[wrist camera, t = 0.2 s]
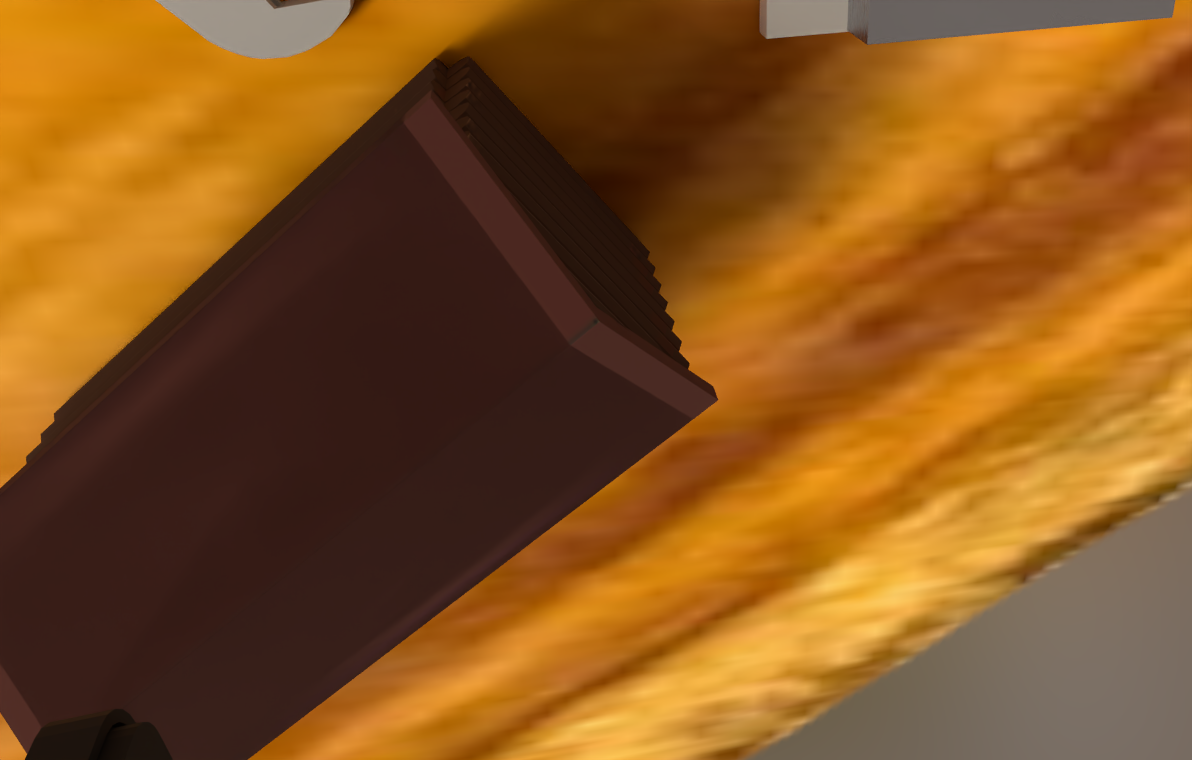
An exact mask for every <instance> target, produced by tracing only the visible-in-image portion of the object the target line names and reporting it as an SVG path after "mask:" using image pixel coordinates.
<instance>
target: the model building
mask: <svg viewBox="0 0 1192 760" xmlns="http://www.w3.org/2000/svg"><path fill="white" fill-rule="evenodd" d="M649 253H650V252H649V251H648V250H647V249H646V248H645V246H644V245H643V244H642V243H641V242H640V241H639V240H638V239H637V238H636V237H635V236H634V235H633V233H632V232H631V231H630V230H629V229H628V228H627V227H626V226H625V225H624V224H623V223H622V221H621V220H620V219H619V218H618V217H617V216H616V215H615V214H614V213H613V212H612V211H611V210H610V208H609V207H608V206H607V205H606V204H605V203H604V202H603V201H602V200H601V199H600V198H599V197H598V195H597V194H596V193H595V192H594V191H593V190H592V189H591V188H590V187H589V186H588V185H587V183H586V182H585V181H584V180H583V179H582V178H581V177H580V176H579V175H578V174H577V173H576V172H575V170H574V169H573V168H572V167H571V166H570V165H569V164H568V163H567V162H566V161H565V160H564V159H563V157H562V156H561V155H560V154H559V153H558V152H557V151H556V150H555V149H554V148H553V147H552V145H551V144H550V143H549V142H548V141H547V140H546V139H545V138H544V137H543V136H542V135H541V134H540V132H539V131H538V130H537V129H536V128H535V127H534V126H533V125H532V124H531V123H530V122H529V120H528V119H527V118H526V117H525V116H524V115H523V114H522V113H521V112H520V111H519V110H518V109H517V107H516V106H515V105H514V104H513V103H512V102H511V101H510V100H509V99H508V98H507V97H506V96H505V94H504V93H503V92H502V91H501V90H500V89H499V88H498V87H497V86H496V85H495V84H494V82H493V81H492V80H491V79H490V78H489V77H488V76H487V75H486V74H485V73H484V72H483V71H482V69H481V68H480V67H479V66H478V65H477V64H476V63H475V62H474V61H473V60H472V59H471V58H470V57H469V56H468V57H466V58H464V59H462V60H460V61H459V62H457V63H455V64H454V65H452V66H451V67H450V68H449V69H448V68H447V67H446V66H445V65H444V64H443V63H442V62H441V61H439V60H438V59H436V58H435V59H433V60H432V61H431V62H430V63H429V64H428V65H427V66H426V67H425V68H424V69H423V70H422V71H421V72H420V73H418V74H417V75H416V76H415V77H414V78H413V79H412V80H411V81H410V82H409V83H408V84H407V85H406V86H405V87H403V88H402V89H401V90H400V91H399V92H398V93H397V94H396V95H395V96H394V97H393V98H392V99H391V100H390V101H388V102H387V103H386V104H385V105H384V106H383V107H382V108H381V109H380V110H379V111H378V112H377V113H376V114H375V115H373V116H372V117H371V118H370V119H369V120H368V121H367V122H366V123H365V124H364V125H363V126H362V127H361V128H360V129H358V130H357V131H356V132H355V133H354V134H353V135H352V136H351V137H350V138H349V139H348V140H347V141H346V142H345V143H343V144H342V145H341V146H340V147H339V148H338V149H337V150H336V151H335V152H334V153H333V154H332V155H331V156H330V157H328V158H327V159H326V160H325V161H324V162H323V163H322V164H321V165H320V166H319V167H318V168H317V169H316V170H315V171H313V172H312V173H311V174H310V175H309V176H308V177H307V178H306V179H305V180H304V181H303V182H302V183H301V184H300V185H298V186H297V187H296V188H295V189H294V190H293V191H292V192H291V193H290V194H289V195H288V196H287V197H286V198H285V199H283V200H282V201H281V202H280V203H279V204H278V205H277V206H276V207H275V208H274V209H273V210H272V211H271V212H270V213H268V214H267V215H266V216H265V217H264V218H263V219H262V220H261V221H260V222H259V223H258V224H257V225H256V226H255V227H253V228H252V229H251V230H250V231H249V232H248V233H247V234H246V235H245V236H244V237H243V238H242V239H241V240H240V241H238V242H237V243H236V244H235V245H234V246H233V247H232V248H231V249H230V250H229V251H228V252H227V253H226V254H225V255H223V256H222V257H221V258H220V259H219V260H218V261H217V262H216V263H215V264H214V265H213V266H212V267H211V268H210V269H208V270H207V271H206V272H205V273H204V274H203V275H202V276H201V277H200V278H199V279H198V280H197V281H196V282H195V283H193V284H192V285H191V286H190V287H189V288H188V289H187V290H186V291H185V292H184V293H183V294H182V295H181V296H180V297H178V298H177V299H176V300H175V301H174V302H173V303H172V304H171V305H170V306H169V307H168V308H167V309H166V310H165V311H164V312H162V313H161V314H160V315H159V316H158V317H157V318H156V319H155V320H154V321H153V322H152V323H151V324H150V325H149V326H147V327H146V328H145V329H144V330H143V331H142V332H141V333H140V334H139V335H138V336H137V337H136V338H135V339H134V340H132V341H131V342H130V343H129V344H128V345H127V346H126V347H125V348H124V349H123V350H122V351H121V352H120V353H119V354H117V355H116V356H115V357H114V358H113V359H112V360H111V361H110V362H109V363H108V364H107V365H106V366H105V367H104V368H102V369H101V370H100V371H99V372H98V373H97V374H96V375H95V376H94V377H93V378H92V379H91V380H90V381H89V382H87V383H86V384H85V385H84V386H83V387H82V388H81V389H80V390H79V391H78V392H77V393H76V394H75V395H74V396H72V397H71V398H70V399H69V400H68V401H67V402H66V403H65V404H64V405H63V406H62V407H61V408H60V409H59V410H57V411H56V412H55V413H54V420H55V421H54V422H53V423H52V424H51V425H50V426H49V427H48V428H47V429H46V430H45V431H44V432H43V433H42V434H41V443H40V444H39V445H38V446H37V447H36V448H35V449H34V450H33V451H32V452H31V453H30V454H29V455H27V456H26V461H27V464H26V465H25V466H24V467H23V468H22V469H21V470H20V471H19V472H17V473H16V474H15V475H14V476H13V477H12V478H11V479H10V480H9V481H8V482H7V483H6V484H5V485H3V486H2V487H1V488H0V712H1V714H2V716H3V717H4V719H5V720H6V722H7V723H8V725H9V726H10V728H11V730H12V731H13V733H14V734H15V736H16V737H17V739H18V740H19V742H20V743H21V745H22V747H23V748H24V750H25V751H26V753H27V754H28V752H29V749H30V747H31V745H32V743H33V741H34V739H35V737H36V735H37V734H38V732H39V731H40V729H41V728H42V727H43V726H45V725H46V724H48V723H49V722H53V721H58V720H63V719H68V718H73V717H78V716H83V715H88V714H92V713H97V712H102V711H107V710H112V709H123V710H125V711H126V712H128V713H129V714H130V715H131V716H132V718H133V719H134V721H135V722H136V723H140V722H150V723H151V724H153V725H154V726H155V728H156V729H157V730H158V732H159V734H160V736H161V738H162V739H163V741H164V743H165V745H166V747H167V749H168V751H169V753H170V755H171V757H172V759H173V760H247V759H249V758H250V757H251V756H253V755H254V754H255V753H257V752H258V751H259V750H261V749H262V748H263V747H265V746H266V745H267V744H268V743H270V742H271V741H272V740H274V739H275V738H276V737H278V736H279V735H280V734H282V733H283V732H284V731H285V730H287V729H288V728H289V727H291V726H292V725H293V724H295V723H296V722H297V721H299V720H300V719H301V718H302V717H304V716H305V715H306V714H308V713H309V712H310V711H312V710H313V709H314V708H316V707H317V706H318V705H319V704H321V703H322V702H323V701H325V700H326V699H327V698H329V697H330V696H331V695H333V694H334V693H335V692H337V691H338V690H339V689H340V688H342V687H343V686H344V685H346V684H347V683H348V682H350V681H351V680H352V679H354V678H355V677H356V676H357V675H359V674H360V673H361V672H363V671H364V670H365V669H367V668H368V667H369V666H371V665H372V664H373V663H374V662H376V661H377V660H378V659H380V658H381V657H382V656H384V655H385V654H386V653H388V652H389V651H390V650H392V649H393V648H394V647H395V646H397V645H398V644H399V643H401V642H402V641H403V640H405V639H406V638H407V637H409V636H410V635H411V634H412V633H414V632H415V631H416V630H418V629H419V628H420V627H422V626H423V625H424V624H426V623H427V622H428V621H429V620H431V619H432V618H433V617H435V616H436V615H437V614H439V613H440V612H441V611H443V610H444V609H445V608H447V607H448V606H449V605H450V604H452V603H453V602H454V601H456V600H457V599H458V598H460V597H461V596H462V595H464V594H465V593H466V592H467V591H469V590H470V589H471V588H473V587H474V586H475V585H477V584H478V583H479V582H481V581H482V580H483V579H484V578H486V577H487V576H488V575H490V574H491V573H492V572H494V571H495V570H496V569H498V568H499V567H500V566H502V565H503V564H504V563H505V562H507V561H508V560H509V559H511V558H512V557H513V556H515V555H516V554H517V553H519V552H520V551H521V550H522V549H524V548H525V547H526V546H528V545H529V544H530V543H532V542H533V541H534V540H536V539H537V538H538V537H539V536H541V535H542V534H543V533H545V532H546V531H547V530H549V529H550V528H551V527H553V526H554V525H555V524H557V523H558V522H559V521H560V520H562V519H563V518H564V517H566V516H567V515H568V514H570V513H571V512H572V511H574V510H575V509H576V508H577V507H579V506H580V505H581V504H583V503H584V502H585V501H587V500H588V499H589V498H591V497H592V496H593V495H594V494H596V493H597V492H598V491H600V490H601V489H602V488H604V487H605V486H606V485H608V484H609V483H610V482H612V481H613V480H614V479H615V478H617V477H618V476H619V475H621V474H622V473H623V472H625V471H626V470H627V469H629V468H630V467H631V466H632V465H634V464H635V463H636V462H638V461H639V460H640V459H642V458H643V457H644V456H646V455H647V454H648V453H649V452H651V451H652V450H653V449H655V448H656V447H657V446H659V445H660V444H661V443H663V442H664V441H665V440H666V439H668V438H669V437H670V436H672V435H673V434H674V433H676V432H677V431H678V430H680V429H681V428H682V427H684V426H685V425H686V424H687V423H689V422H690V421H691V420H693V419H694V418H695V417H697V416H698V415H699V414H701V413H702V412H703V411H704V410H706V409H707V408H708V407H710V406H711V405H712V404H714V403H715V402H716V401H718V398H717V396H716V393H715V390H714V388H713V386H712V385H710V384H709V383H707V382H706V381H704V380H703V379H701V378H700V377H698V376H697V375H695V374H694V373H692V372H691V371H689V370H688V368H689V364H690V363H689V362H688V361H687V360H686V359H685V358H684V357H683V356H682V355H681V354H680V353H679V352H678V351H679V350H680V346H681V343H682V341H681V340H680V339H679V338H678V337H677V336H676V335H675V334H674V333H673V332H672V331H671V330H672V328H673V325H674V320H673V319H672V318H671V317H670V316H669V315H668V314H667V313H666V312H665V309H666V306H667V303H668V302H667V301H666V300H665V299H664V298H663V297H662V296H661V295H660V294H659V293H658V292H659V290H660V287H661V284H660V283H659V282H658V281H657V279H656V278H655V277H654V276H653V273H654V271H655V267H654V266H653V265H652V264H651V263H650V262H649V261H648V259H647V258H648V256H649Z"/></svg>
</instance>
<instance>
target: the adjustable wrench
mask: <svg viewBox="0 0 1192 760" xmlns="http://www.w3.org/2000/svg"><path fill="white" fill-rule="evenodd" d="M156 1H157V2H158V3H160V4H161V5H162V6H164V7H165V8H166V9H168V10H169V11H170V12H171V13H173V14H174V15H175V16H177V17H178V18H179V19H181V20H182V21H183V22H185V23H186V24H187V25H188V26H190V27H191V28H192V29H194V30H195V31H196V32H198V33H199V34H200V35H202V36H203V37H204V38H205V39H207V40H208V41H210V42H212V43H213V44H215V45H217V46H219V47H221V48H223V49H226V50H228V51H231V52H234V53H236V54H240V55H244V56H247V57H252V58H260V59H266V58H280V57H289V56H292V55H295V54H298V53H301V52H304V51H307V50H309V49H311V48H312V47H314V46H315V45H317V44H319V43H320V42H322V41H324V40H325V39H327V38H329V37H330V36H332V34H333V33H334V32H335V31H336V30H337V28H338V27H339V26H340V25H341V23H342V22H343V21H344V20H345V18H346V17H347V16H348V15H349V13H350V11H351V10H352V8H353V4H354V0H287V1H282V2H281V1H280V0H156Z"/></svg>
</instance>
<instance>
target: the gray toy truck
mask: <svg viewBox="0 0 1192 760" xmlns="http://www.w3.org/2000/svg"><path fill="white" fill-rule="evenodd" d="M1174 4H1175V0H848V22H847V30H848V31H849V32H850V33H852V34H853V35H855V36H856V37H857V38H859V39H860V40H862V41H863V42H864V43H866V44H867V45H869V44H880V43H891V42H902V41H914V40H925V39H936V38H947V37H958V36H969V35H980V34H992V33H1003V32H1014V31H1025V30H1036V29H1047V28H1059V27H1070V26H1081V25H1092V24H1103V23H1114V22H1125V21H1137V20H1148V19H1159V18H1170V17H1172V15H1173V10H1174Z"/></svg>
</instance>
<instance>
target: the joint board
mask: <svg viewBox="0 0 1192 760" xmlns="http://www.w3.org/2000/svg"><path fill="white" fill-rule="evenodd" d="M847 22H848V0H760V33H761V34H762V35H763V36H764V37H765V38H766V39H771V38H782V37H793V36H805V35H816V34H827V33H838V32H849V31H848V30H847Z"/></svg>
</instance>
